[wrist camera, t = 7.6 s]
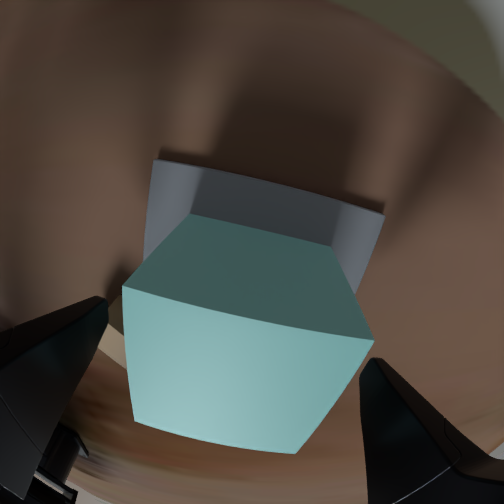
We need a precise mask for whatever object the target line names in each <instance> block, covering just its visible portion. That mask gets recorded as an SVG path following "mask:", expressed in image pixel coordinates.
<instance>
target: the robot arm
mask: <svg viewBox="0 0 504 504" xmlns="http://www.w3.org/2000/svg"><path fill="white" fill-rule="evenodd" d="M108 322H109V312H108V301H107V299H105V298H102V297H100V296H93V297H91V298H88V299H85V300H83V301H80V302H77V303H75V304H72V305H70V306H67V307H64V308H62V309H59V310H56V311H54V312H51V313H49V314H46V315H43V316H41V317H38V318H36V319H33V320H30V321H28V322H25V323H23V324H20V325H17V326H15V327H14V328H10V329H7V330H5V331H2V332H0V504H75V502H76V498H77V494H78V491H76V490H74V489H71V488H70V487H68V486H66V485H65V482H66V480H67V477H68V475H69V473H70V471H71V468H72V466H73V464H74V462H75V460H76V458H77V455H78V454H80V455H82V456H84V457H87V458H88V456H89V454H88V453H87V451H86V449H85V448H84V446H83V444H82V443H81V441H80V439H79V437H78V436H77V435H76V434H75V433H74V432H72V431H70V430H68V429H66V428H64V427H62V426H60V425H59V424H57V423H58V421H59V419H60V417H61V415H62V413H63V411H64V409H65V408H66V406H67V404H68V402H69V400H70V398H71V396H72V394H73V393H74V391H75V389H76V387H77V385H78V383H79V382H80V380H81V378H82V376H83V375H84V373H85V371H86V369H87V368H88V366H89V364H90V362H91V360H92V358H93V356H94V354H95V352H96V350H97V347H98V345H99V343H100V341H101V338H102V336H103V334H104V332H105V330H106V328H107V325H108ZM359 387H360V416H361V425H362V434H363V442H364V452H365V463H366V475H367V490H368V504H504V460H501V459H496V458H493V457H491V456H489V455H488V454H486V453H485V452H484V451H483V450H482V449H480V448H479V447H478V446H477V445H475V444H474V443H473V442H472V441H470V440H469V439H468V438H467V437H466V436H464V435H463V434H462V433H461V432H460V431H459V430H457V429H456V428H455V427H454V426H453V425H452V424H451V423H450V422H449V421H448V420H447V419H446V418H444V416H443V415H442V414H441V413H439V412H438V411H437V410H436V409H435V408H434V407H433V406H432V405H431V404H430V403H429V402H428V401H427V400H426V399H425V398H424V397H423V396H422V395H421V394H419V393H418V392H417V391H416V390H415V389H414V388H413V387H412V386H411V385H410V384H409V383H408V382H407V381H406V380H405V379H404V378H403V377H401V376H400V375H399V374H398V373H397V372H396V371H395V370H394V369H393V368H392V367H391V366H390V365H389V364H388V363H387V362H386V361H384V360H383V359H382V358H375V357H373V358H371V359H370V360H369V361H368V363H367V364H366V366H365V367H364V369H363V370H362V372H361V374H360V377H359ZM34 474H37V475H38V476H39V477H41V478H42V479H44V480H45V481H47V482H48V483H50V484H51V485H53V486H54V487H56V488H58V489H59V490H61V491H63V494H61V493H59V492H57V491H56V490H54V489H52V488H51V487H49V486H48V485H46V484H45V483H43V482H42V481H40V480H39V479H37V478H36V477H34Z"/></svg>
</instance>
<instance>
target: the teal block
mask: <svg viewBox="0 0 504 504" xmlns="http://www.w3.org/2000/svg"><path fill="white" fill-rule="evenodd" d="M122 302H123V325H124V340H125V352H126V362H127V371H128V380H129V387H130V395H131V401H132V408H133V414H134V419H135V421H136V422H139V423H142V424H145V425H148V426H151V427H154V428H157V429H161V430H164V431H167V432H171V433H175V434H178V435H182V436H186V437H190V438H194V439H198V440H203V441H207V442H212V443H217V444H222V445H228V446H233V447H239V448H246V449H253V450H261V451H269V452H279V453H291V454H296V452H297V451H298V450H299V449H300V448H301V446H302V445H303V444H304V443H305V442H306V440H307V439H308V438H309V437H310V435H311V434H312V433H313V432H314V430H315V429H316V428H317V427H318V425H319V424H320V423H321V421H322V420H323V419H324V417H325V416H326V415H327V413H328V412H329V411H330V409H331V408H332V406H333V405H334V404H335V402H336V401H337V399H338V398H339V396H340V395H341V394H342V392H343V391H344V389H345V388H346V386H347V385H348V383H349V382H350V380H351V379H352V377H353V375H354V374H355V372H356V371H357V369H358V368H359V366H360V364H361V363H362V361H363V359H364V358H365V356H366V355H367V353H368V351H369V349H370V348H371V346H372V344H373V343H374V341H375V340H374V338H373V336H372V333H371V331H370V329H369V326H368V324H367V322H366V320H365V317H364V315H363V313H362V311H361V308H360V306H359V304H358V302H357V300H356V297H355V295H354V293H353V291H352V289H351V287H350V285H349V283H348V280H347V278H346V276H345V274H344V272H343V270H342V268H341V266H340V264H339V262H338V260H337V258H336V256H335V254H334V252H333V250H332V248H331V247H330V246H326V245H322V244H318V243H314V242H310V241H306V240H301V239H297V238H293V237H289V236H285V235H281V234H277V233H272V232H268V231H264V230H260V229H256V228H251V227H247V226H243V225H238V224H234V223H230V222H225V221H221V220H216V219H212V218H207V217H203V216H198V215H194V214H189V215H188V216H187V217H186V218H185V219H184V220H183V221H182V222H181V223H180V224H179V225H178V226H177V227H176V228H175V229H174V230H173V231H172V232H171V233H170V234H169V235H168V236H167V237H166V238H165V239H164V240H163V241H162V242H161V243H160V244H159V246H158V247H157V248H156V249H155V250H154V251H153V252H152V253H151V254H150V255H149V256H148V257H147V258H146V259H145V261H144V262H143V263H142V264H141V265H140V266H139V267H138V268H137V269H136V271H135V272H134V273H133V274H132V275H131V276H130V277H129V278H128V279H127V281H126V282H125V283H124V284H123V285H122Z"/></svg>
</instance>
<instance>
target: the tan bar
mask: <svg viewBox="0 0 504 504" xmlns="http://www.w3.org/2000/svg"><path fill="white" fill-rule="evenodd" d="M108 312H109V322H108V325H107V328H106V330H105V332H104V334H103V336H102V338H101V341H100V343H99V345H98V348H99V349H100V350H102V351H103V352H104V353H105V354H107V355H108V356H109V357H111V358H112V359H113V360H115V361H116V362H117V363H118V364H120V365H121V366H123V367H124V368H125V369H127V362H126V352H125V340H124V325H123V302H122V296H121V295H120V294H119V296H118V297H117V298H116V299H115V300H114V302H113V303H112V304H111V305H110V306H109V308H108Z"/></svg>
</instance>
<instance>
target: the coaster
mask: <svg viewBox="0 0 504 504" xmlns="http://www.w3.org/2000/svg"><path fill="white" fill-rule="evenodd" d="M189 214H194V215H198V216H203V217H207V218H212V219H216V220H221V221H225V222H230V223H234V224H238V225H243V226H247V227H251V228H256V229H260V230H264V231H268V232H272V233H277V234H281V235H285V236H289V237H293V238H297V239H301V240H306V241H310V242H314V243H318V244H322V245H326V246H330V247H331V248H332V250H333V252H334V254H335V256H336V258H337V260H338V262H339V264H340V266H341V268H342V270H343V272H344V274H345V276H346V278H347V280H348V283H349V285H350V287H351V289H352V291H353V293H354V295H355V293H356V291H357V289H358V286H359V284H360V282H361V279H362V277H363V274H364V272H365V270H366V267H367V265H368V262H369V260H370V257H371V255H372V252H373V249H374V247H375V244H376V242H377V239H378V236H379V233H380V231H381V228H382V225H383V222H384V219H385V217H386V216H385V215H383V214H382V213H379V212H376V211H373V210H370V209H367V208H364V207H360V206H357V205H354V204H351V203H347V202H344V201H341V200H337V199H334V198H330V197H327V196H323V195H320V194H316V193H312V192H309V191H305V190H301V189H297V188H294V187H290V186H286V185H282V184H278V183H274V182H270V181H266V180H261V179H257V178H253V177H248V176H244V175H240V174H235V173H230V172H226V171H221V170H216V169H211V168H206V167H201V166H196V165H190V164H185V163H179V162H174V161H168V160H162V159H155V160H154V161H153V168H152V175H151V182H150V190H149V198H148V207H147V216H146V227H145V239H144V253H143V262H144V261H145V259H146V258H147V257H148V256H149V255H150V254H151V253H152V252H153V251H154V250H155V249H156V248H157V247H158V246H159V244H160V243H161V242H162V241H163V240H164V239H165V238H166V237H167V236H168V235H169V234H170V233H171V232H172V231H173V230H174V229H175V228H176V227H177V226H178V225H179V224H180V223H181V222H182V221H183V220H184V219H185V218H186V217H187V216H188V215H189Z"/></svg>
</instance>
